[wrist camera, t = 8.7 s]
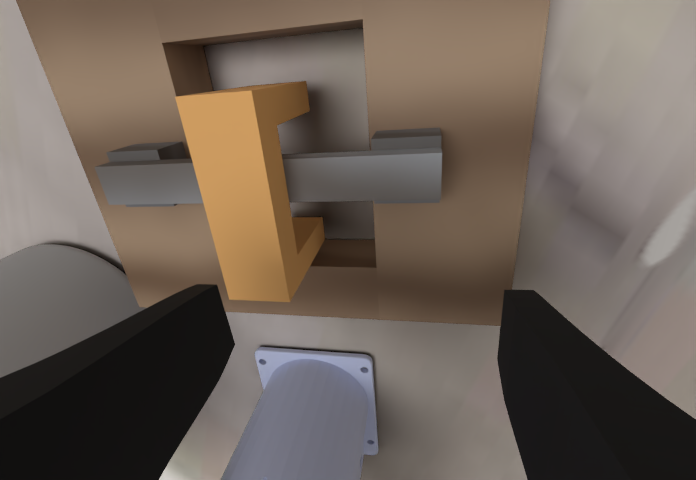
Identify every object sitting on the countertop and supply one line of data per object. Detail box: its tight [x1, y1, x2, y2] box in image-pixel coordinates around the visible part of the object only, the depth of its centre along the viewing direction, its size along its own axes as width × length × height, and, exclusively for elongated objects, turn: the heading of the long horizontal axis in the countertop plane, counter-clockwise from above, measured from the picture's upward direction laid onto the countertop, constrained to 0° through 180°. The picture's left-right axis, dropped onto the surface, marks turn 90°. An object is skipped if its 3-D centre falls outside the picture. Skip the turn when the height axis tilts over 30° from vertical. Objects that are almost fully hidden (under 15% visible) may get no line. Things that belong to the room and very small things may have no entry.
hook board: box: [16, 0, 550, 326], centre depth 16 cm, size 16×20×6 cm
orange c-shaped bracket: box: [175, 81, 325, 302], centre depth 15 cm, size 7×2×6 cm, turn 5°
